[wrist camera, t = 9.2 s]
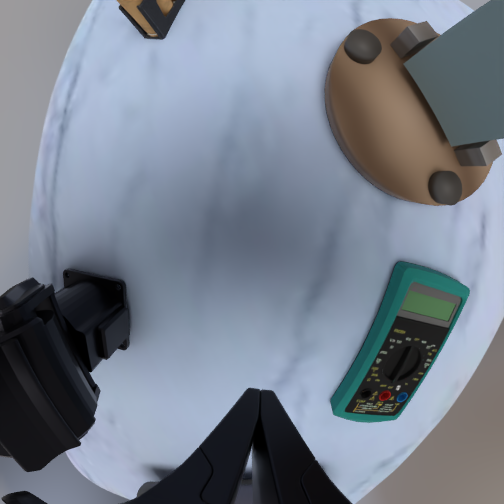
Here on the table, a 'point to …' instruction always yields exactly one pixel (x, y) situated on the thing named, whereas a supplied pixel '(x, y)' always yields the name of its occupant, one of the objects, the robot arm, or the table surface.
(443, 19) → the table surface
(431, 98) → the post
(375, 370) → the digital multimeter
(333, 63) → the levelling base
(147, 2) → the ammunition clip
